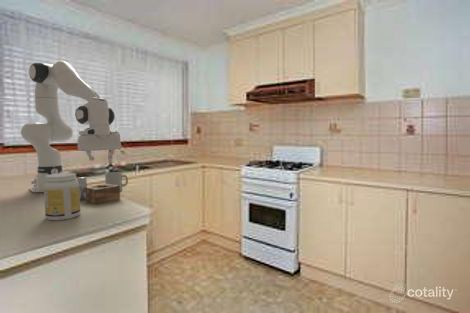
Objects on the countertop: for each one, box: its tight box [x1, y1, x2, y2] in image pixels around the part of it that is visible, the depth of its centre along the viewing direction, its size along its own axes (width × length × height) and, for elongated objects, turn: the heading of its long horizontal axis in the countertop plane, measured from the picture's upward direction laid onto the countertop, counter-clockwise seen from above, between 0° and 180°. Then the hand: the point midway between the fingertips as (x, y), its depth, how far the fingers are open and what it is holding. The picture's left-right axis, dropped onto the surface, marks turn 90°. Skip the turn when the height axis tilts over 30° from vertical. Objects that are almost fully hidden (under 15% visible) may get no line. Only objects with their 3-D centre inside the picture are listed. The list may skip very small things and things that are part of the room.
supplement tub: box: [43, 172, 81, 221], centre depth 115 cm, size 12×12×17 cm
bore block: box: [85, 183, 121, 205], centre depth 142 cm, size 10×12×7 cm
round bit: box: [76, 176, 88, 202], centre depth 144 cm, size 4×4×11 cm
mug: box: [104, 171, 129, 193], centre depth 163 cm, size 12×8×11 cm
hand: (101, 159), depth 141 cm, fingers open, 8 cm apart
